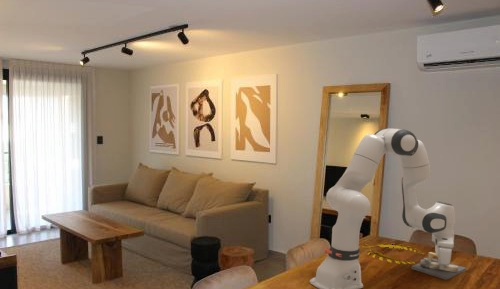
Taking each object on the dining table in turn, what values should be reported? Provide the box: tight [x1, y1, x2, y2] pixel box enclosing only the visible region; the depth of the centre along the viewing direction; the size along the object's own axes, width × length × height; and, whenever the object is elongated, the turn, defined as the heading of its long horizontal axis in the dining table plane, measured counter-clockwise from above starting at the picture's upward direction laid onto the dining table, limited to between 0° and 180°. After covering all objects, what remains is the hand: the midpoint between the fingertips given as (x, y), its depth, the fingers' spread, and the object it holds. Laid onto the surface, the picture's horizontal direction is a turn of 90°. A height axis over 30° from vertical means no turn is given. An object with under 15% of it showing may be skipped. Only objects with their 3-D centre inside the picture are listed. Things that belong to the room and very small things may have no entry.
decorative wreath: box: [363, 241, 426, 265], centre depth 204 cm, size 35×2×30 cm
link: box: [419, 258, 459, 273], centre depth 177 cm, size 15×5×2 cm, turn 66°
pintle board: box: [410, 251, 467, 281], centre depth 180 cm, size 20×16×5 cm
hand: (441, 268), depth 174 cm, fingers closed
